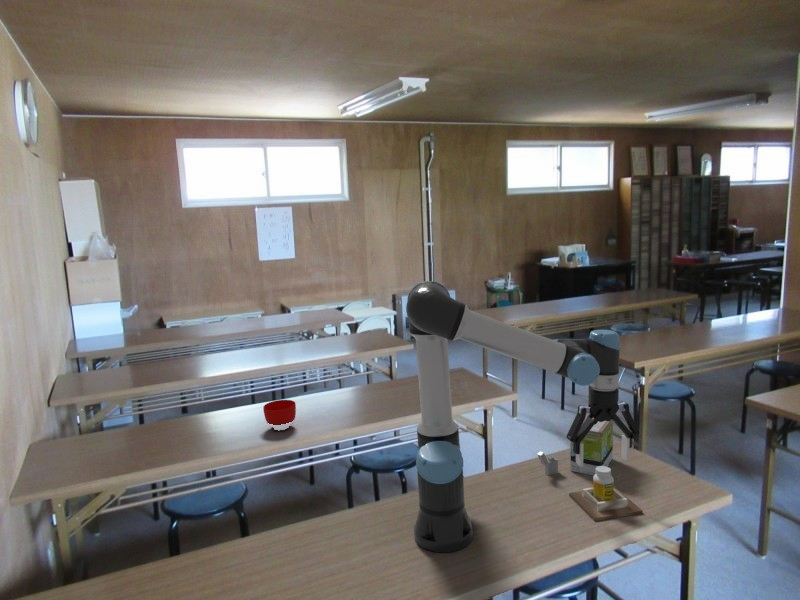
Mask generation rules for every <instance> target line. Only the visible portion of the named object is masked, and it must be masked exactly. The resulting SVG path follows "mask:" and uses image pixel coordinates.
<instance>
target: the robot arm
mask: <svg viewBox="0 0 800 600" xmlns="http://www.w3.org/2000/svg"><path fill="white" fill-rule="evenodd" d="M405 310H406V316H407V318H408V327H409V330H408V331H409V334H410V335H411V336H412V337H413V338H414V339H415V346H416V360H417V361H416V362H417V377H418V386H419V387H418V389H419V402H420V403H419V404H420V417H421V422H420V423H419V424H418V425H417V427H416V435H417V437H416V438H417V448H418V449H417V452H416V460H415V467H416V470H417V471H416V473H417V486H418V487H417V489H418V505H419V509H418V512H417V516H416V519H415V523H414V526H413V527H414V528H413V534H414V540H415V542H416V544H417V545H419V547H421V548H423V549H424V550H427V551H430V552H435V553H452V552H457V551H459V550H462V549H464V548H465V547H467V546H468V545H470V543H471V541H472V540H473V537H474V536H473V535H474V533H473V525H472V522H471V519H470V517H469V514H468V512H467V510H466V507H465V487H464V485H465V484H464V483H465V482H464V458H463V457H464V456H463V454H462V450H461V444H460V431H459V429H460V428H459V424H458V423H457V422H456V421H454V420H453V407H452V393H451V392H452V389H451V378H450V377H451V376H450V359H449V346H448V345H449V344H448V342H449V341H451V342H454V341H457V340H462V341H464V342H467V343H470V344H472V345H475V346H478V347H481V348H483V349H487V350H490V351H493V352H496V353H498V354H500V355H503V356H507V357H509V358H512V359H515V360H517V361H520V362H523V363H526V364H529V365H532V366H535V367H538V368H540V369H542V370H546V371H549V372H551V373H554V374H557V375H559V376H562V377H564V378H568V380H570V381H571V382H572V383H575V384H576V385H578V386H582V387H583V386H590V387H588V400H589V401H588V402H589V403H588V406H582V405H578V406H577V412H576V415H575V416H574V419H573V421H572V423H571V425H570V428H569V430H568V432H567V434H566V439H567V440H568V441H570V443H571V442H573V451H574V453H575V454H576V463H577V464H578V465H579V466H580V467H583V443H582V442H581V441H582V440H583V439H584V437H585V436H586V435H587V433H588V432H589V431H590V430H591V428H592V427H593V426H594V425H595V424H597V422H598V421H599V422H603V421H610V420H613V423H615V424H616V426H617V427H618V428H619V430H621V431H622V433H623V434H621V445H620V446H621V447H620V448H621V449H620V450H621V451H620V457H621V458H622V460H624V461H626V462H629V461H630V449H632V447H633V439H635V438H636V436H638V435H640V431H639V428H638V426H637V424H636V422H635V420H634V418H633V416H632V414H631V411H630V405H629V404H628V403H627V402H625V401H623V400H621V401H620V400H619V393H620V392H619V384H620V383H619V382H620V378H619V377H620V355H621V353H620V351H621V346H620V345H621V344H620V342H621V339H620V334H619V333H618V332H617V331H614V330H610V329H595V330H594V329H593V330H591V331H590V333H589V337H588V338H573V339H569V338H568V339H564V338H563V339H562V338H561V339H560V338H555V339H551V338H549V337H546V336H543V335H539V334H538V333H534V332H531V331H529V330H526V329H523V328H520V327H517V326H516V325H512V324H509V323H506V322H504V321H501V320H498V319H496V318H493V317H491V316H487V315H484V314H482V313H480V312H476V311H473V310H471V309H469V307H468V304H466V303H463V302H461V301H458V300H456V299H454V298H452V297H451V294H450V292H449V290H448V289H447V288H446V286H444V285H442V284H441V283H440V282H436V281H432V280H425V281H422V282H420V283H417V284H416V285H414V286H413V287H412V288H411V290H410V291H409V293H408V295H407V301H406V306H405ZM448 340H449V341H448ZM619 401H620V402H619ZM618 411H620V412H621V415H622V416H623V418H624V420H625V423H626V424H627V426H626V424H625V423H624V422H623V421H622V420H621V418H620V417H619V415H617V413H618ZM587 414H589V415H588V416H587V419H586V421H585V422H584V420H585V417H586V415H587ZM592 418H594V419H592ZM583 422H584V423H583ZM582 424H583V425H582ZM635 435H636V436H635Z"/></svg>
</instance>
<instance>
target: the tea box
mask: <svg viewBox="0 0 800 600" xmlns="http://www.w3.org/2000/svg"><path fill="white" fill-rule="evenodd" d="M589 414H590V413H588V414H587V415H586V417H585V420H584V422H585V421H586V419H587V416H588V415H589ZM592 419H594V418H592ZM584 422H583V423H584ZM582 425H583V424H582ZM581 442H582V443H583V467H580V466H579V465H578V464H577V463H576V454H575V453H574V451H573V442H571V441H570V463H569V465H570V468H569V469H570V470H569V471H571V472H574V473H575V472H576V473H580V474H583V475H588V476H589V475H590V476H594V475H595V474H596V467H598V466H606V467H608V466H609V465H610V463H611V461H612V460H613V457H614V456H613V452H614V450H613V448H614V447H613V446H614V445H613V443H614V421H613V420H610V421H603V422H599V421H598V422H597V424H595V425H594V426H593V427H592V428H591V430H590V431H589V432H588V433H587V435H586V436H585V437H584V439H583V440H582V441H581Z"/></svg>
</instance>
